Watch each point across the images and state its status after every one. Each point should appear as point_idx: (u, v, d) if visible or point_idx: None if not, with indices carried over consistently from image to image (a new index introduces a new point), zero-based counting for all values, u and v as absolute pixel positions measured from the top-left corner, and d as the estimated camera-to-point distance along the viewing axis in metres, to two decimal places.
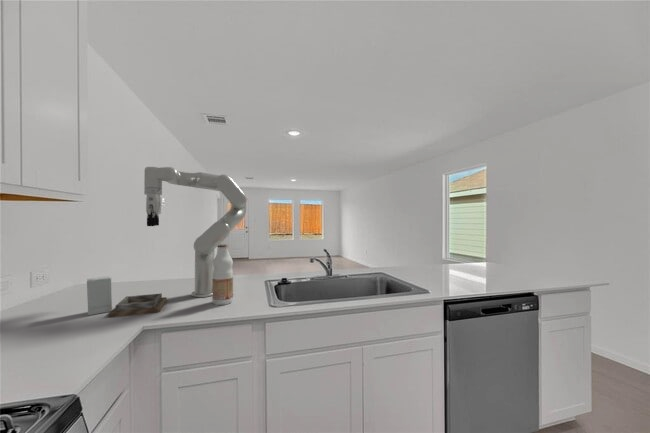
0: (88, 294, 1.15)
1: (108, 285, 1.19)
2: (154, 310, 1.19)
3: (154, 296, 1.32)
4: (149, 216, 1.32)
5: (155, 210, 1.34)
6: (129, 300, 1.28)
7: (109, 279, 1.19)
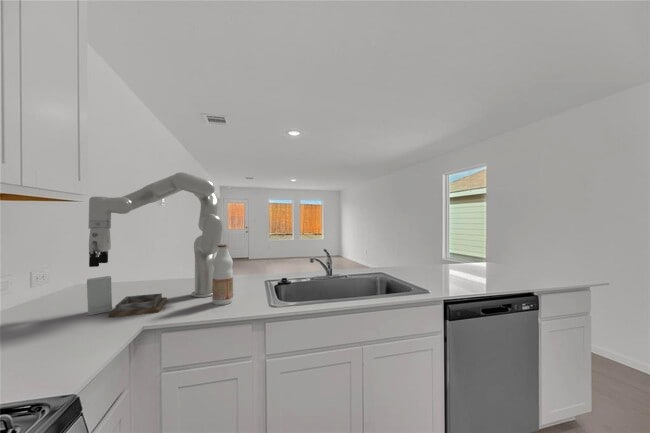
0: (88, 294, 1.15)
1: (108, 285, 1.19)
2: (154, 310, 1.19)
3: (154, 296, 1.32)
4: (91, 255, 1.13)
5: (100, 248, 1.15)
6: (129, 300, 1.28)
7: (109, 279, 1.19)
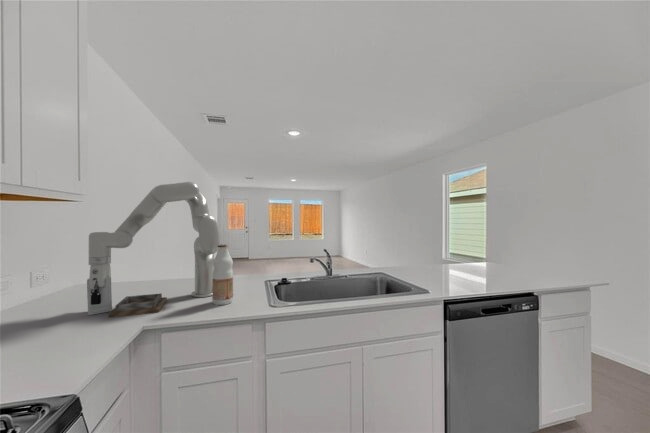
0: (88, 294, 1.15)
1: (108, 285, 1.19)
2: (154, 310, 1.19)
3: (154, 296, 1.32)
4: (93, 294, 1.14)
5: (100, 284, 1.15)
6: (129, 300, 1.28)
7: (109, 279, 1.19)
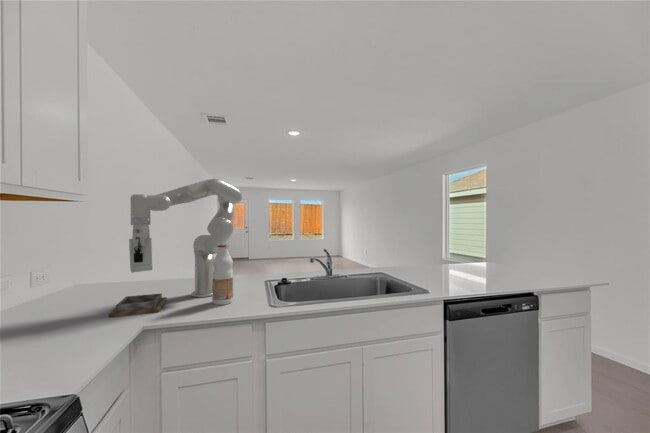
0: (131, 252, 1.20)
1: (149, 245, 1.24)
2: (154, 310, 1.19)
3: (154, 296, 1.32)
4: (136, 252, 1.19)
5: (142, 243, 1.21)
6: (129, 300, 1.28)
7: (149, 239, 1.24)
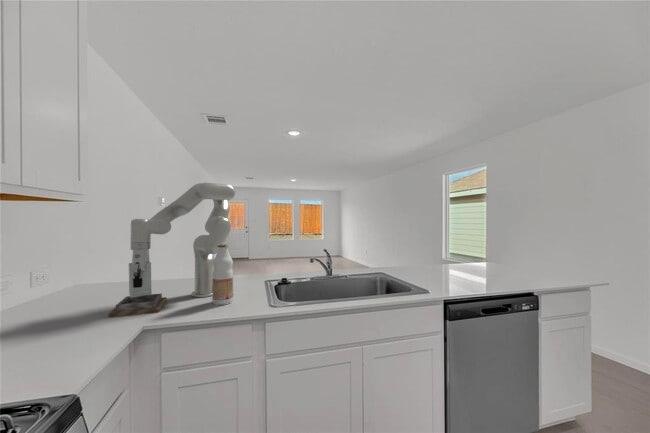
0: (130, 277, 1.20)
1: (148, 269, 1.24)
2: (154, 310, 1.19)
3: (154, 296, 1.32)
4: (136, 277, 1.19)
5: (142, 268, 1.20)
6: (129, 300, 1.28)
7: (149, 263, 1.24)
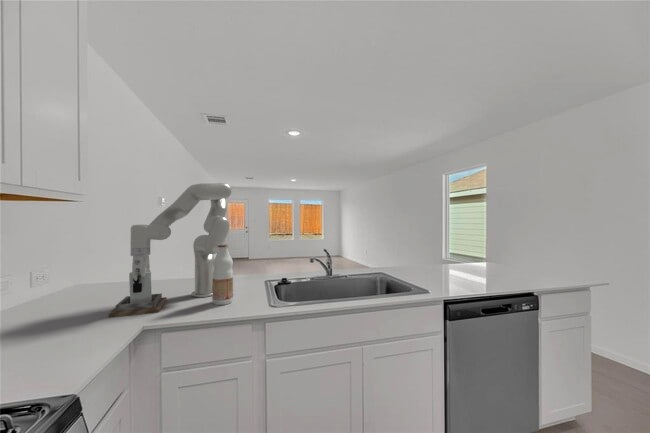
0: (130, 287, 1.20)
1: (148, 279, 1.24)
2: (154, 310, 1.19)
3: (154, 296, 1.32)
4: (135, 282, 1.18)
5: (142, 274, 1.20)
6: (129, 300, 1.28)
7: (149, 273, 1.24)
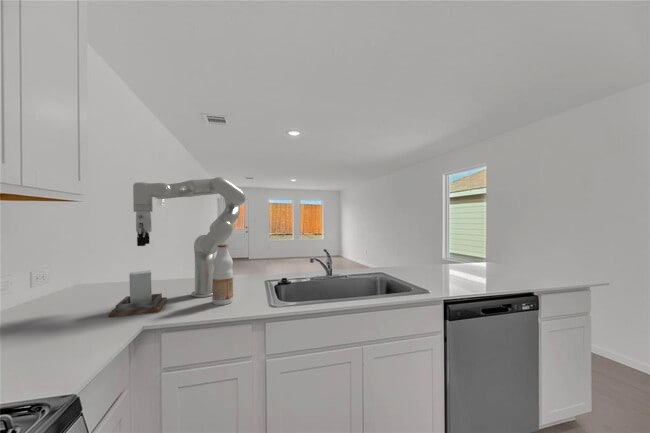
0: (130, 287, 1.20)
1: (148, 279, 1.24)
2: (154, 310, 1.19)
3: (154, 296, 1.32)
4: (139, 235, 1.24)
5: (146, 229, 1.26)
6: (129, 300, 1.28)
7: (149, 273, 1.24)
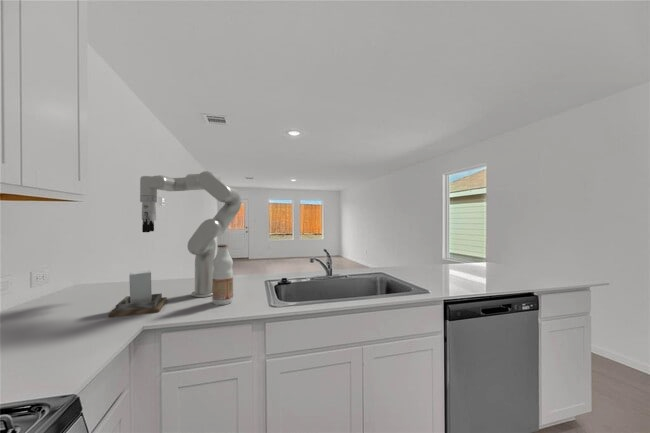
0: (130, 287, 1.20)
1: (148, 279, 1.24)
2: (154, 310, 1.19)
3: (154, 296, 1.32)
4: (144, 223, 1.40)
5: (150, 217, 1.42)
6: (129, 300, 1.28)
7: (149, 273, 1.24)
